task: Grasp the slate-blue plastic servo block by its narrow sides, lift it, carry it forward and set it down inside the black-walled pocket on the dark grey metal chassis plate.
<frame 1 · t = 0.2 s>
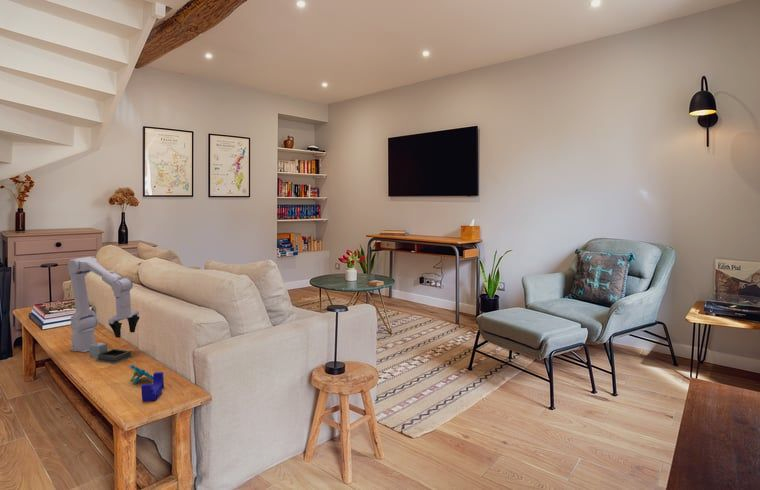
hand: (125, 334, 201), 10 cm above the table, tool pointing down, fingers open, 7 cm apart
teal irregular piece: (142, 381, 175), on the table
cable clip: (155, 394, 164), on the table
chassis: (114, 358, 199), on the table
servo block: (99, 356, 202), on the table
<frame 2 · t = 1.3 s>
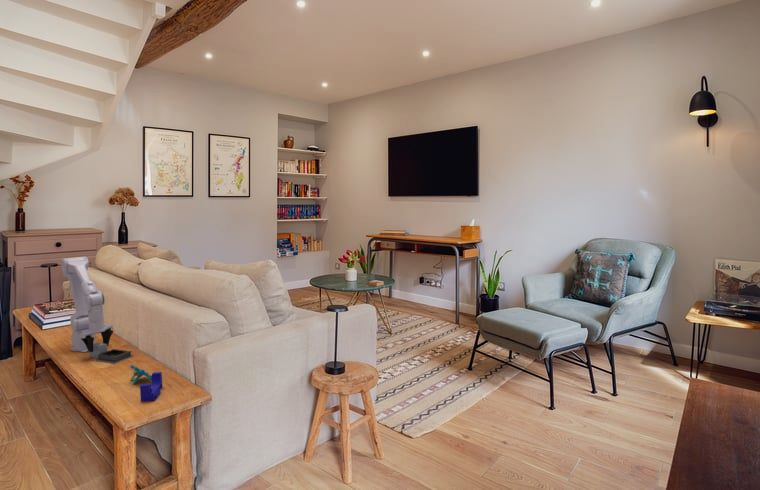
hand: (98, 348, 202), 3 cm above the table, tool pointing down, fingers open, 7 cm apart
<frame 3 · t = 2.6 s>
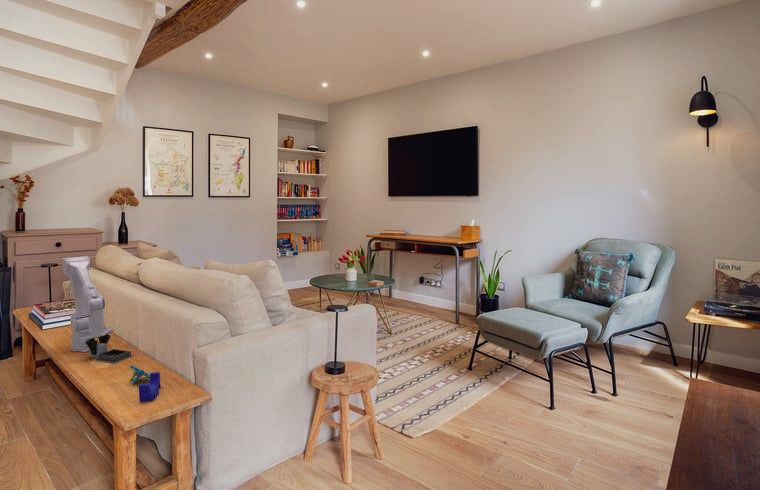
hand: (98, 352, 202), 1 cm above the table, tool pointing down, fingers closed on servo block, 4 cm apart
servo block: (99, 355, 202), on the table, touching gripper
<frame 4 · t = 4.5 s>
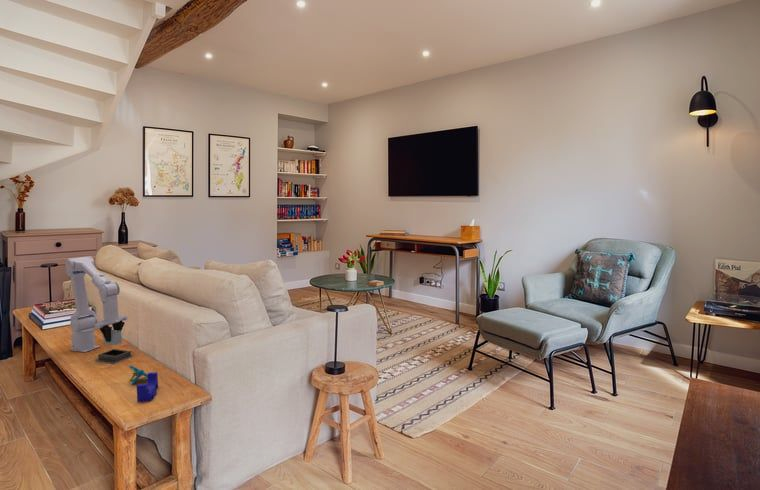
hand: (112, 339, 198), 8 cm above the table, tool pointing down, fingers closed on servo block, 4 cm apart
servo block: (112, 343, 198), point 7 cm above the table, touching gripper
when the fingers open (4 cm above the table, at t = 6.3 s): servo block drops 2 cm, resting on chassis.
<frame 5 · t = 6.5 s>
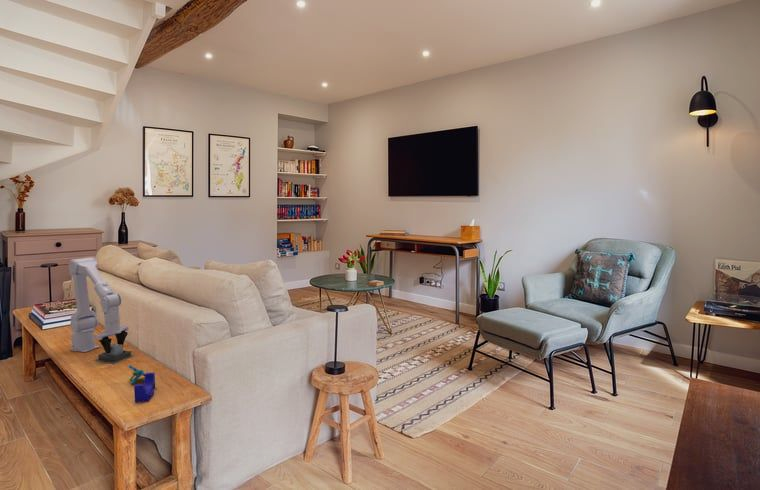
hand: (114, 350, 199), 4 cm above the table, tool pointing down, fingers open, 6 cm apart
servo block: (114, 357, 199), resting on chassis
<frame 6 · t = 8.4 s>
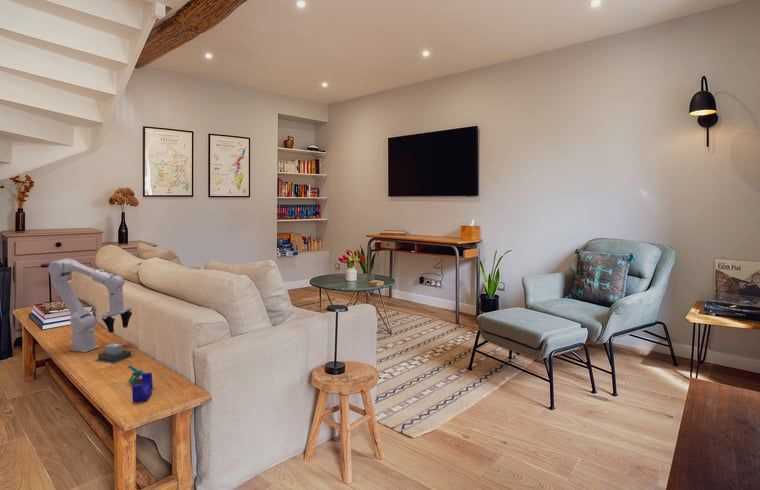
hand: (118, 329, 210), 9 cm above the table, tool pointing down, fingers open, 7 cm apart
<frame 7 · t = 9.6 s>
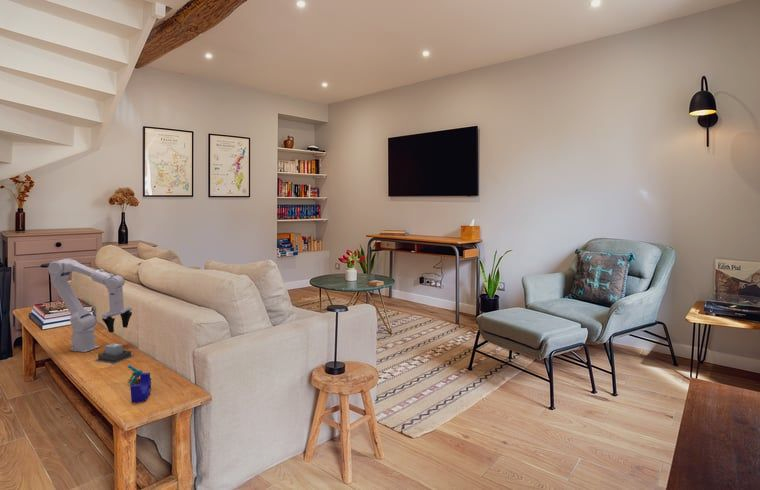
hand: (118, 329, 210), 9 cm above the table, tool pointing down, fingers open, 7 cm apart
at the end: servo block 0.2 cm off-centre on the chassis, point 0.5 cm above the chassis's base; servo block tilted 0°; the gripper is holding nothing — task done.
